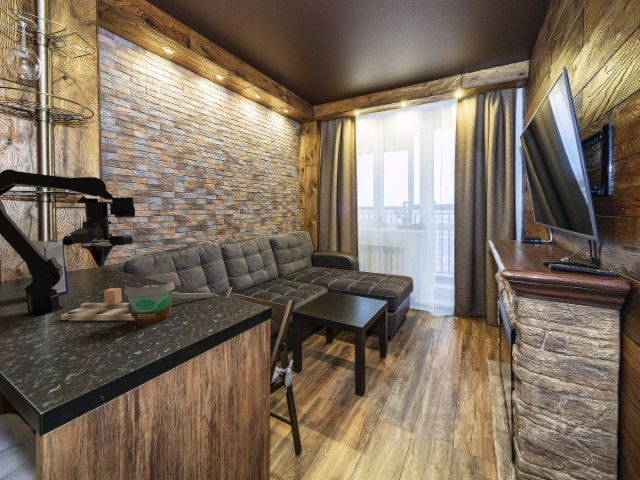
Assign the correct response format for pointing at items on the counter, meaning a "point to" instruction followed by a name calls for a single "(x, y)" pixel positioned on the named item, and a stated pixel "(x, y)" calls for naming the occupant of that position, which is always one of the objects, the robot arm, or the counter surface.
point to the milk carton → (58, 251)
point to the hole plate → (99, 312)
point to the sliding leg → (111, 297)
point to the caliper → (191, 295)
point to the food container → (150, 303)
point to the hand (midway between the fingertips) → (100, 266)
